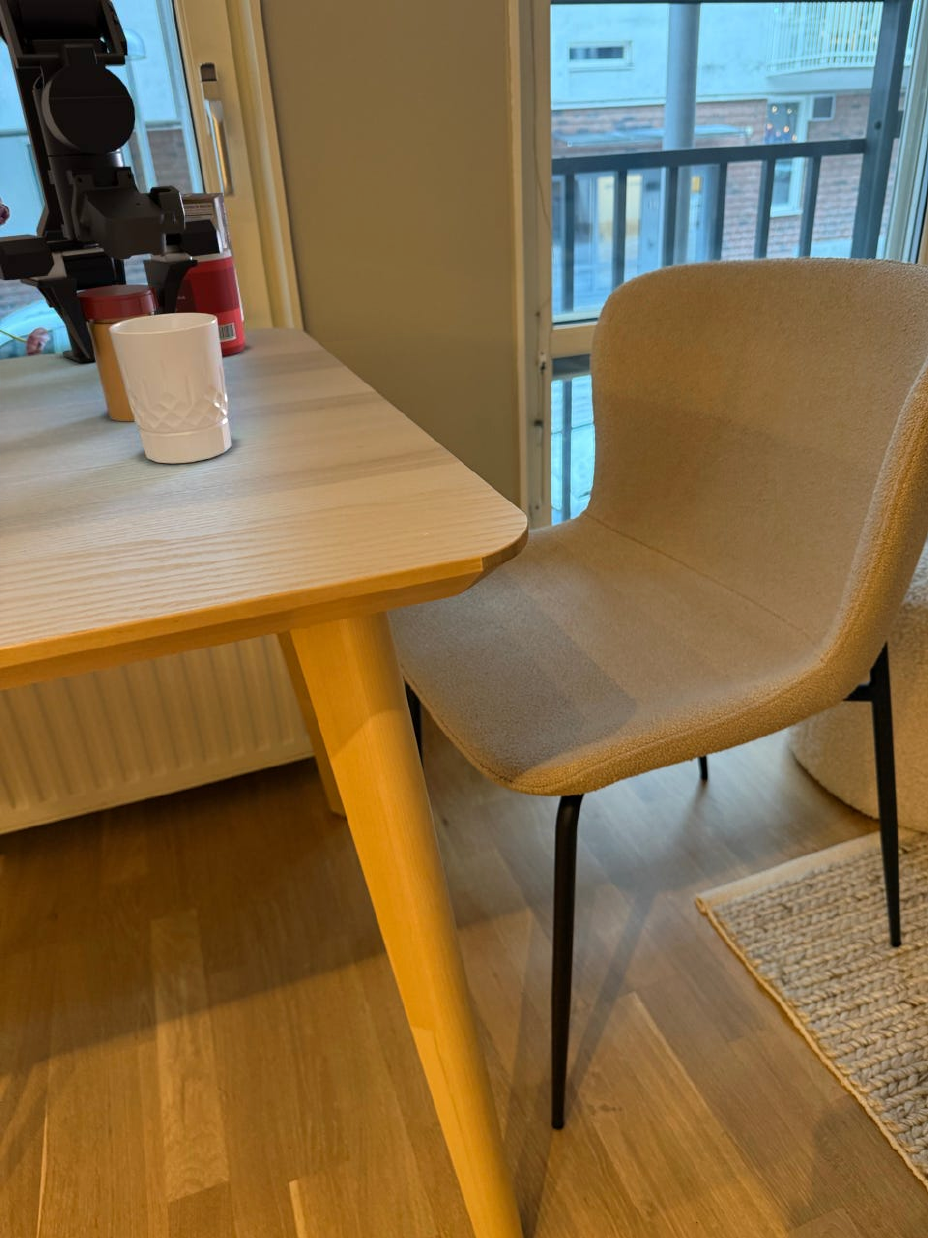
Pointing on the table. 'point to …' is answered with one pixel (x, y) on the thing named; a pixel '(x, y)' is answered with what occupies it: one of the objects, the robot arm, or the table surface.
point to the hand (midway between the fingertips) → (129, 350)
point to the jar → (110, 368)
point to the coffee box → (211, 218)
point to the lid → (117, 301)
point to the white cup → (175, 384)
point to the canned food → (215, 297)
